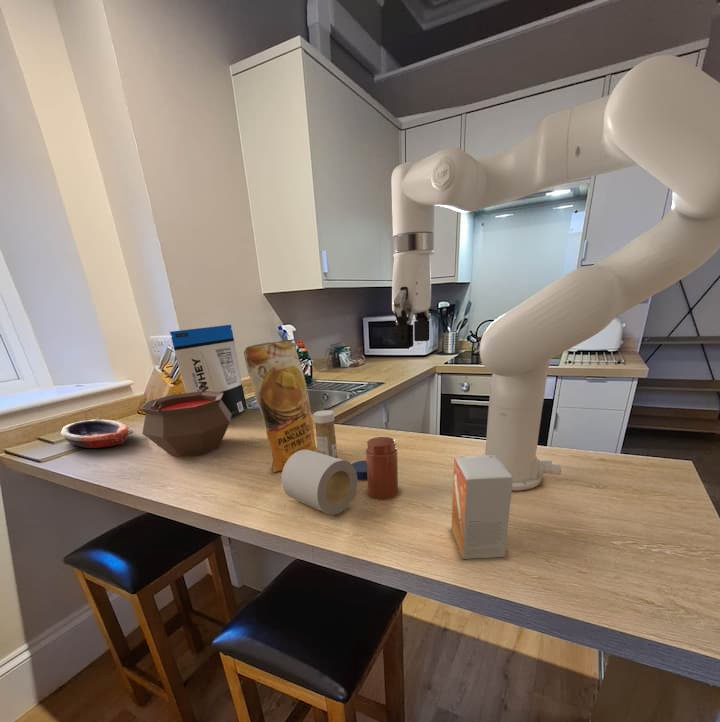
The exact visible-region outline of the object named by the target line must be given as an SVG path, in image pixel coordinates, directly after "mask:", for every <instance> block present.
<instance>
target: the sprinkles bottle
mask: <svg viewBox="0 0 720 722" xmlns="http://www.w3.org/2000/svg"><path fill="white" fill-rule="evenodd" d="M312 418H313V419H312V420H313V423H314V427H315V438H316V440H315V441H316V449H317V453H321V454H324V455H328V456H331V457H334V458H338V457H339V456H338V447H337V438H336V430H335V413H334V411H333V410H327V409H323V410H318V411H315V412H313V414H312ZM338 459H339V458H338Z"/></svg>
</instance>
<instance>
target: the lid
mask: <svg viewBox="0 0 720 722" xmlns="http://www.w3.org/2000/svg"><path fill="white" fill-rule="evenodd" d="M351 464H352V465H353V466H354V468H355V470H356V473H357V480H358V481H367V465H366V459H365V460H358V461H355V462H352V463H351Z"/></svg>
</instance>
